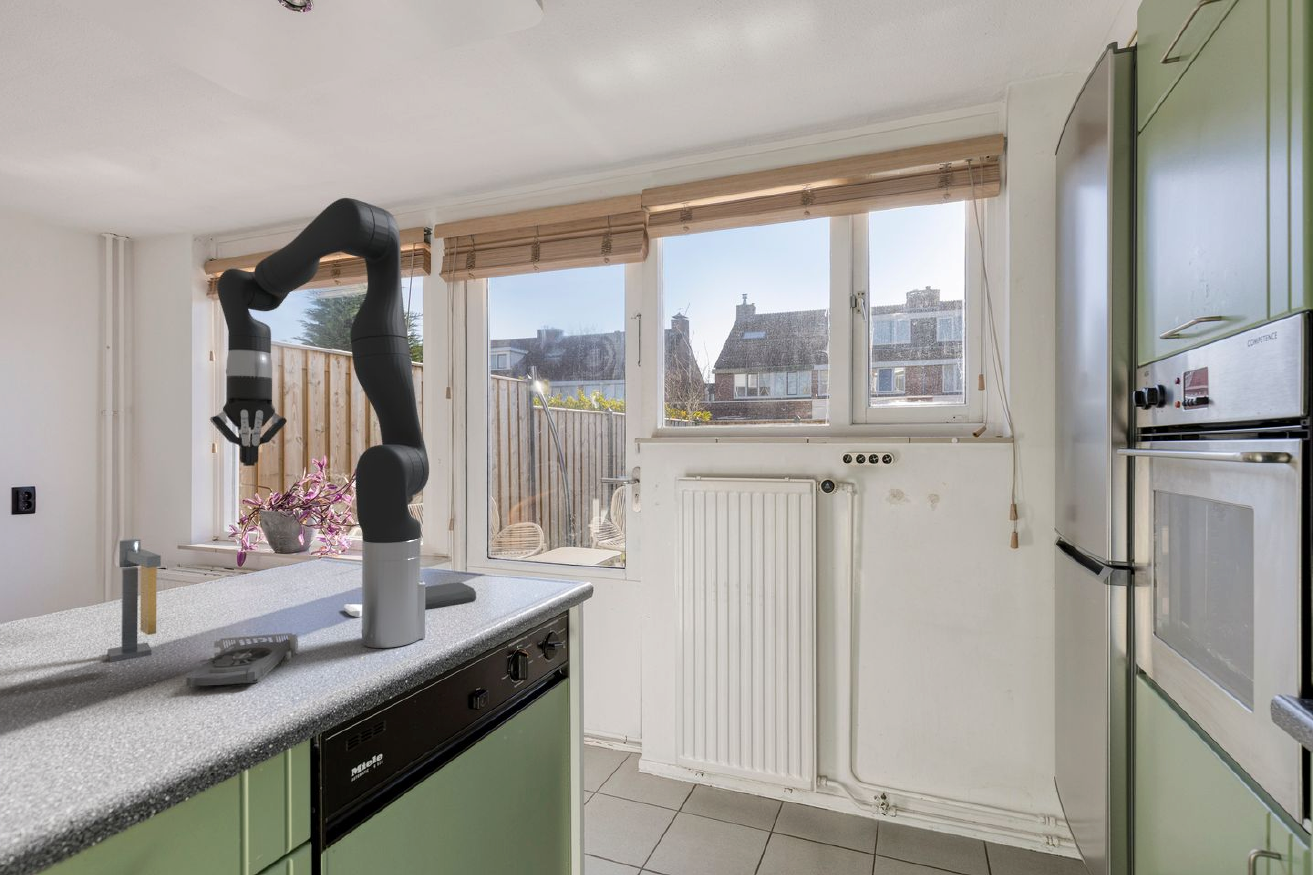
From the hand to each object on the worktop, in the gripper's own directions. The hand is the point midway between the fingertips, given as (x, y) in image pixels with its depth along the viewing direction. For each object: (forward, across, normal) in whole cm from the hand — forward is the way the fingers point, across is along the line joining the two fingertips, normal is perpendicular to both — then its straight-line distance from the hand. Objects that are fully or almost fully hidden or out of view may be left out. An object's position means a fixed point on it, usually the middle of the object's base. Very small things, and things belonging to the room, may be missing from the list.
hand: (249, 465), depth 126 cm
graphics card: (+30, -8, -33) cm, 45 cm away
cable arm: (+24, -18, -18) cm, 35 cm away
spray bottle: (+30, +26, -13) cm, 42 cm away
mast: (+29, -19, -13) cm, 37 cm away
